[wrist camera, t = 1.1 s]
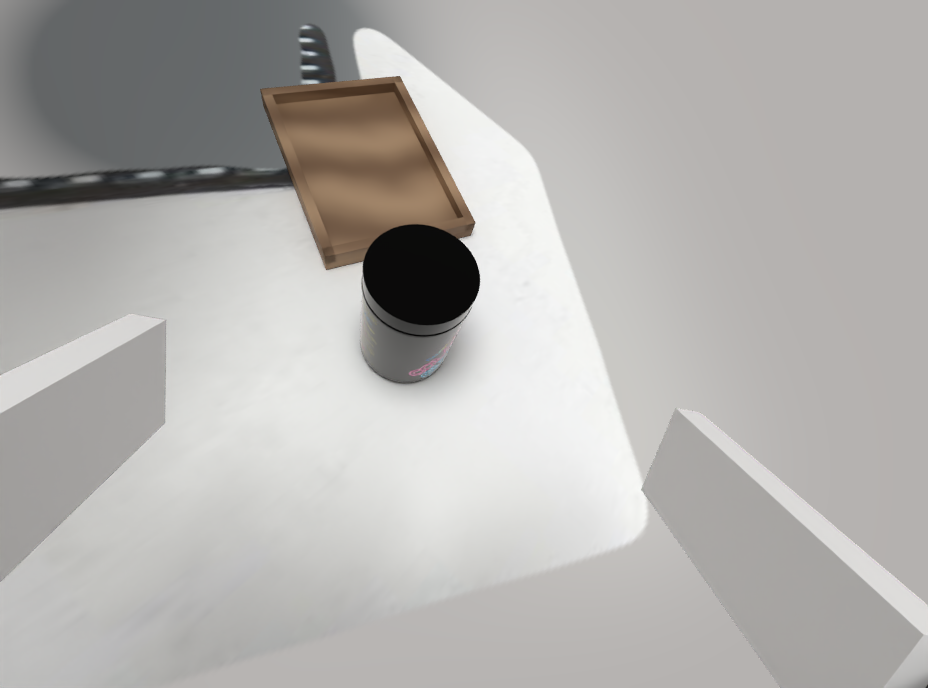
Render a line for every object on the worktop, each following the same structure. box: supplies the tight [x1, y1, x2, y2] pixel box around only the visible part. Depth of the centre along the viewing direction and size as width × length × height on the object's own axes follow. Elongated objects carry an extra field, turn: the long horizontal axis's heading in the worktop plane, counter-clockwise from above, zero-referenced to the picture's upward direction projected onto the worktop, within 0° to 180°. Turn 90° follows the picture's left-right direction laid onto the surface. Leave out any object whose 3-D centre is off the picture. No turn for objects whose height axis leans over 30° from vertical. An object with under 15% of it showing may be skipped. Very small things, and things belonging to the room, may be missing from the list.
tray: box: [260, 76, 475, 270], centre depth 40 cm, size 18×13×2 cm
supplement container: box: [360, 224, 480, 382], centre depth 30 cm, size 7×7×10 cm
